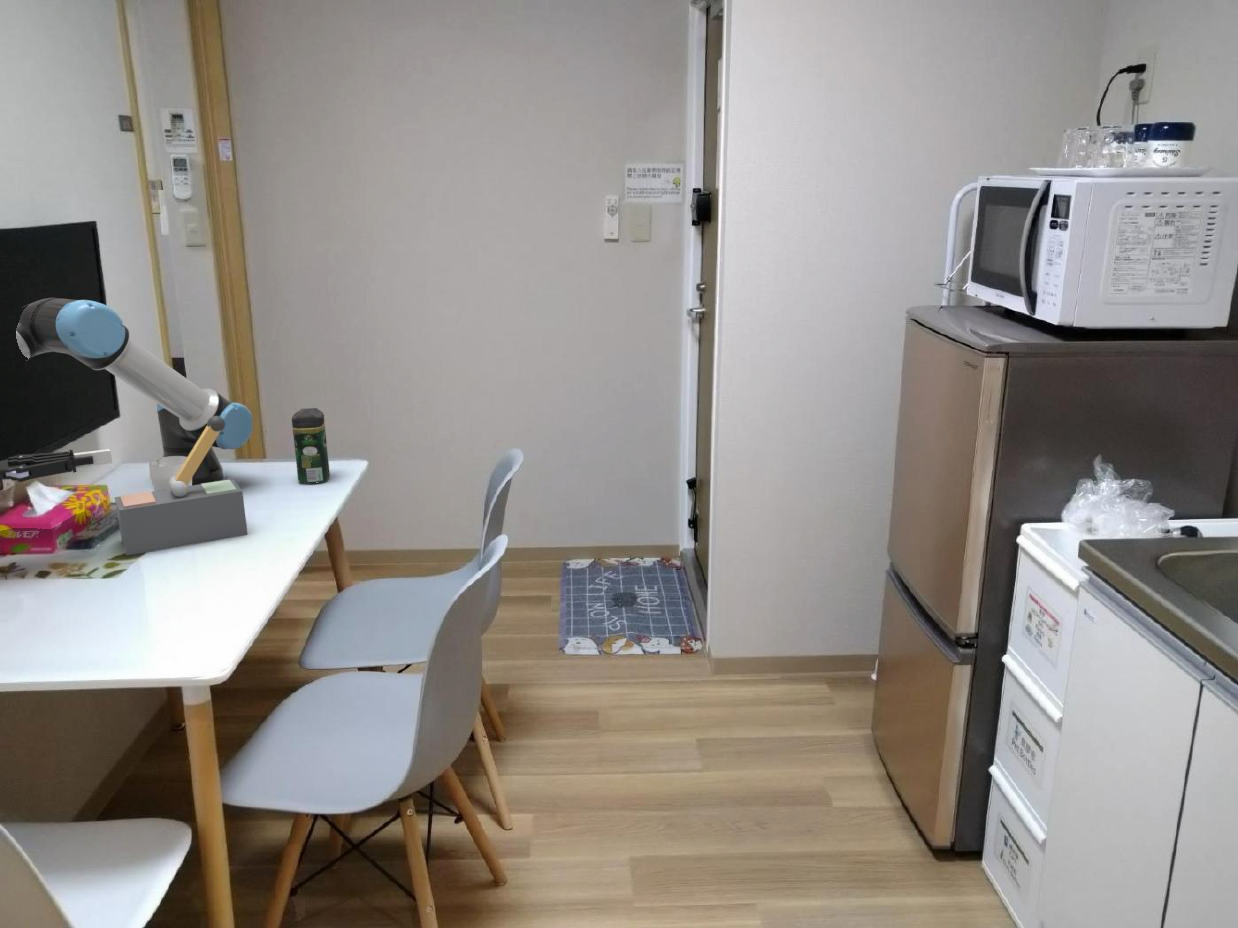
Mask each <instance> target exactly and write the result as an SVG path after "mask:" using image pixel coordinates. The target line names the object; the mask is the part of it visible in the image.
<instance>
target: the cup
mask: <svg viewBox="0 0 1238 928" xmlns="http://www.w3.org/2000/svg"><path fill="white" fill-rule="evenodd" d="M186 459H187V457H185V456H169V457H163V456H162V457H158V458H155V459H153V460H150V461H149V462H148V466H149V478H150V480H151V481H150V482H151V484H152V485H151V486H152V487H153V491H159V490H166V489H171V488H170V486H169V483H168V482H169V479H170V478H171V477H173V476H176V475H177V473H178V472H179V470H180V468H181V467H182V465H183V464H184V462H185V460H186ZM187 486H192V478H191V480H190V481H189V483H188V485H187Z"/></svg>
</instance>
